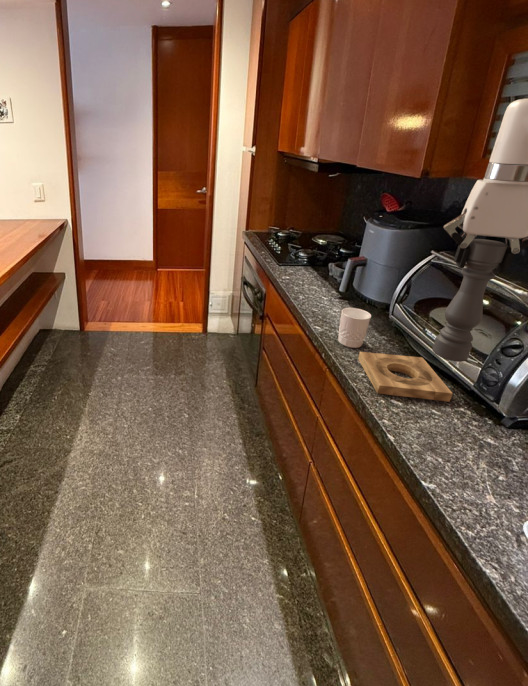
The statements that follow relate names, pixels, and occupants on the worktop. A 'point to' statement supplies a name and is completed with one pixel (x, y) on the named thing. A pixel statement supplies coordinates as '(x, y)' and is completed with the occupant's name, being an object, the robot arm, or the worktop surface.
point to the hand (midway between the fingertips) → (479, 267)
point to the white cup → (353, 327)
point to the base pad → (388, 383)
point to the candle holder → (468, 300)
